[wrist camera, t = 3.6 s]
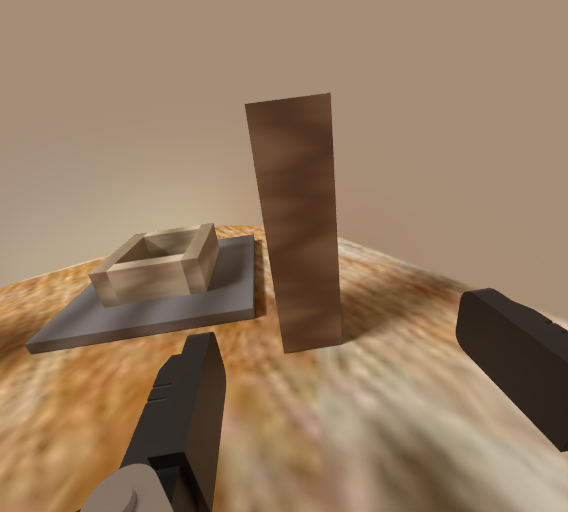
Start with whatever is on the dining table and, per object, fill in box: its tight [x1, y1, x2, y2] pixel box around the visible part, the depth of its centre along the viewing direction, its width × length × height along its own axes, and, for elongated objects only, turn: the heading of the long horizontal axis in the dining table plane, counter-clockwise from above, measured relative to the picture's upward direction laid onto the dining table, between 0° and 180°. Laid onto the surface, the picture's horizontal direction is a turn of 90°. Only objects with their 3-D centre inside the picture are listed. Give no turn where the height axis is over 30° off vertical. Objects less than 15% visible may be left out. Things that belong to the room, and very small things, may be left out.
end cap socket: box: [25, 223, 255, 354], centre depth 30 cm, size 18×18×4 cm
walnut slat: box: [245, 93, 342, 354], centre depth 18 cm, size 4×5×15 cm
